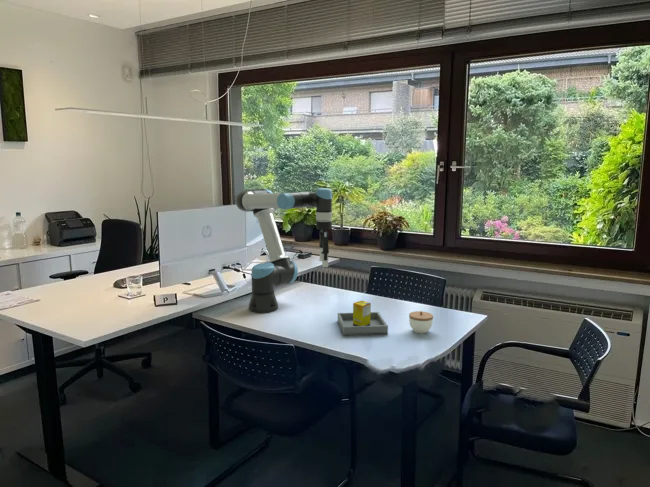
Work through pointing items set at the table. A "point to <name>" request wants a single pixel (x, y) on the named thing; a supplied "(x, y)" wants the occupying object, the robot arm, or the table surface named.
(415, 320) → the lidded jar
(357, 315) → the supplement box
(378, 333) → the desk tray
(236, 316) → the table surface
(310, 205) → the robot arm
